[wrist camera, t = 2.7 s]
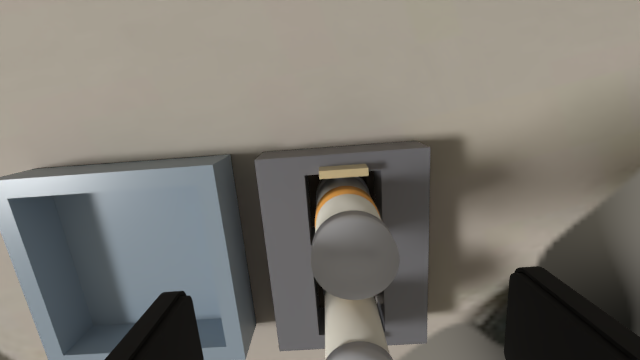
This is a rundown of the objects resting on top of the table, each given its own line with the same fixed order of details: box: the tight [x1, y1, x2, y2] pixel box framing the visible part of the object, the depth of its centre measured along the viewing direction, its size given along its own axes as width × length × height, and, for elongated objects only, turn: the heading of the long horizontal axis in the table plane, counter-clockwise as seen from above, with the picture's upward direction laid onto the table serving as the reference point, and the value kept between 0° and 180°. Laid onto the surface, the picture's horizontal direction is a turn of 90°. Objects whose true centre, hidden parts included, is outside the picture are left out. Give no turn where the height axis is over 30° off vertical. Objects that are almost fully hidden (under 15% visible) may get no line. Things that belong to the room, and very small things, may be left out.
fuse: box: [323, 289, 393, 360], centre depth 16 cm, size 3×3×8 cm
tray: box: [0, 154, 256, 360], centre depth 18 cm, size 12×12×3 cm
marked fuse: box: [311, 176, 400, 300], centre depth 15 cm, size 3×3×8 cm
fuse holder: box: [254, 141, 430, 351], centre depth 18 cm, size 9×12×4 cm
